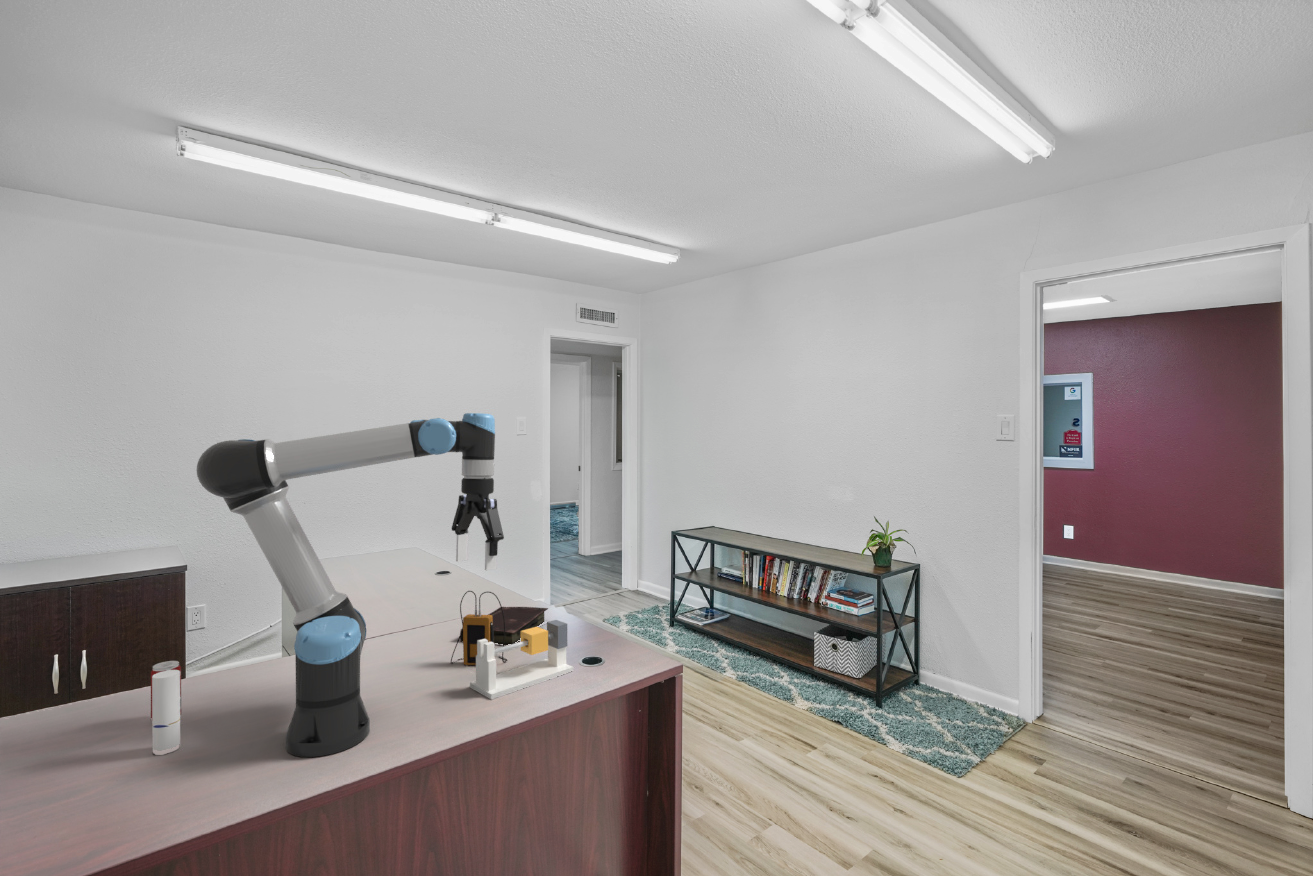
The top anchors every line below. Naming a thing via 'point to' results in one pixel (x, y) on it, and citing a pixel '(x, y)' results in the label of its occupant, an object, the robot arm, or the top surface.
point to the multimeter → (476, 632)
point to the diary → (514, 622)
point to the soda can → (165, 667)
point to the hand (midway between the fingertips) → (475, 565)
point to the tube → (166, 709)
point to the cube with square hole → (535, 640)
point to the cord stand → (524, 675)
